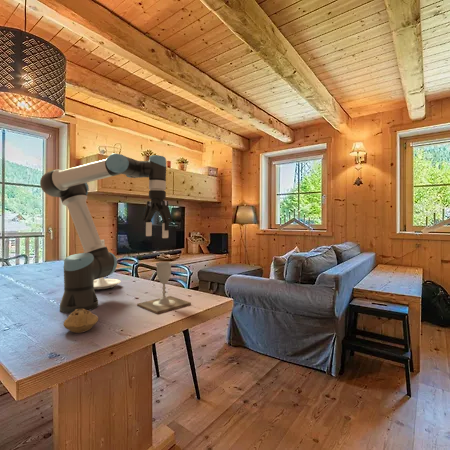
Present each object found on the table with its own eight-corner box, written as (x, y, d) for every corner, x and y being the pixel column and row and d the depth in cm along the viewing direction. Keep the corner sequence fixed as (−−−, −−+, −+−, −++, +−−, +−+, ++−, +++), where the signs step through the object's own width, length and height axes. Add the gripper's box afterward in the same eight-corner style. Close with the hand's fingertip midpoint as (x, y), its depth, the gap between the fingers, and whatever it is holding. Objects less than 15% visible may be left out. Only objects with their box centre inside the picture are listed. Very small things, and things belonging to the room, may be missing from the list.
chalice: (156, 305, 127) (156, 264, 126) (155, 301, 133) (155, 262, 133) (172, 304, 129) (172, 264, 128) (171, 299, 135) (171, 261, 135)
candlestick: (68, 289, 161) (67, 238, 160) (112, 282, 178) (111, 237, 177) (80, 296, 146) (79, 241, 145) (127, 288, 163) (126, 238, 162)
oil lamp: (89, 320, 112) (89, 299, 112) (103, 331, 101) (102, 308, 101) (57, 327, 105) (57, 305, 105) (68, 340, 94) (68, 315, 94)
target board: (157, 314, 119) (157, 311, 119) (137, 305, 130) (137, 303, 130) (190, 304, 132) (190, 302, 132) (170, 297, 143) (170, 295, 143)
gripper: (180, 189, 125) (180, 238, 126) (149, 192, 142) (149, 235, 143) (166, 188, 120) (165, 239, 120) (136, 191, 137) (135, 235, 138)
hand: (156, 237), depth 132 cm, fingers open, 13 cm apart
